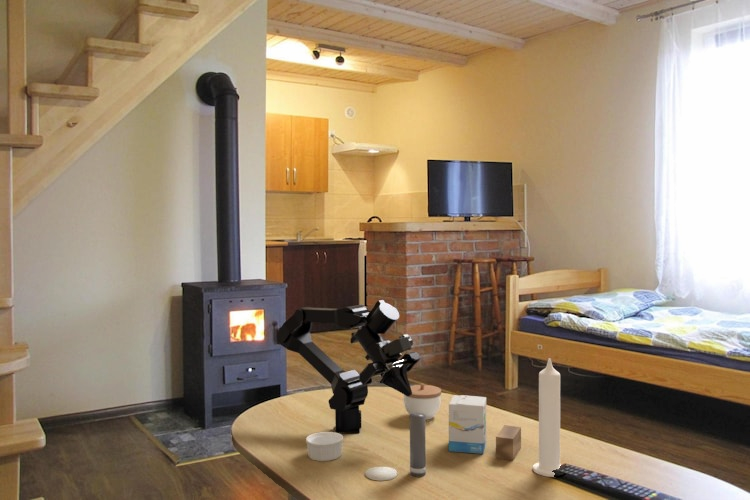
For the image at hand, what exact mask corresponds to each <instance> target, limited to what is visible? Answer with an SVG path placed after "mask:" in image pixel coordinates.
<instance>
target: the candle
mask: <svg viewBox="0 0 750 500" xmlns="http://www.w3.org/2000/svg"><path fill="white" fill-rule="evenodd" d="M561 465H562V463H561V373H560V372H559V371H558V370H556V369H555V368H554V367H553V362H552V358H550V357H548V360H547V363H546V367H545V368H543V369H542V370H541V371H539V373H538V462H535V463H533V465H532V471H533V472H534V473H535V474H538V475H539V476H542V477H549V478H555V477H554V475H555V473H554V472H552V471H553V470H556V469H559V468H560V466H561Z"/></svg>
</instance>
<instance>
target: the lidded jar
mask: <svg viewBox="0 0 750 500" xmlns="http://www.w3.org/2000/svg"><path fill="white" fill-rule="evenodd" d="M410 387H411V391H412V395H411V396H409V397H408V396H406V395H404V394H403V403H404V407H405V409H406V410H405V411H407V413H408V414H409V415H410V414H411V413H424V414H425V421H428V420H431V419H433V418H434V416H435V415H436V414H437V413H438V412H439V410H440V408H441V401H442V389H441V387H438V386H435V385H430V384H429V385H427V384H425V383H420V384H414V385H410Z"/></svg>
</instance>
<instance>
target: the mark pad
mask: <svg viewBox="0 0 750 500" xmlns="http://www.w3.org/2000/svg"><path fill="white" fill-rule="evenodd" d="M364 472H365V474H364V475H365V477H366V478H367V479H370V480H372V481H378V482H380V481H381V482H383V481H391V480H393V479H395V478H396V477H398V471H397V470H396V469H395V468H393V467H390V466H374V467H371V468H369V469H366V471H364Z"/></svg>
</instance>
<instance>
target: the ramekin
mask: <svg viewBox="0 0 750 500" xmlns="http://www.w3.org/2000/svg"><path fill="white" fill-rule="evenodd" d="M305 442H306V446H307V447H306V448H307V456H308V458H310V459H311V460H313V461H316V462H317V461H318V462H329V461H334V460H337V459H339V458H340V457H341V456H342V454H343V442H344V435H343V434H342V433H335V431H334V432H333V431H321V432H319V431H318V432H315V433H312V434H309V435H307V437H305Z"/></svg>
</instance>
